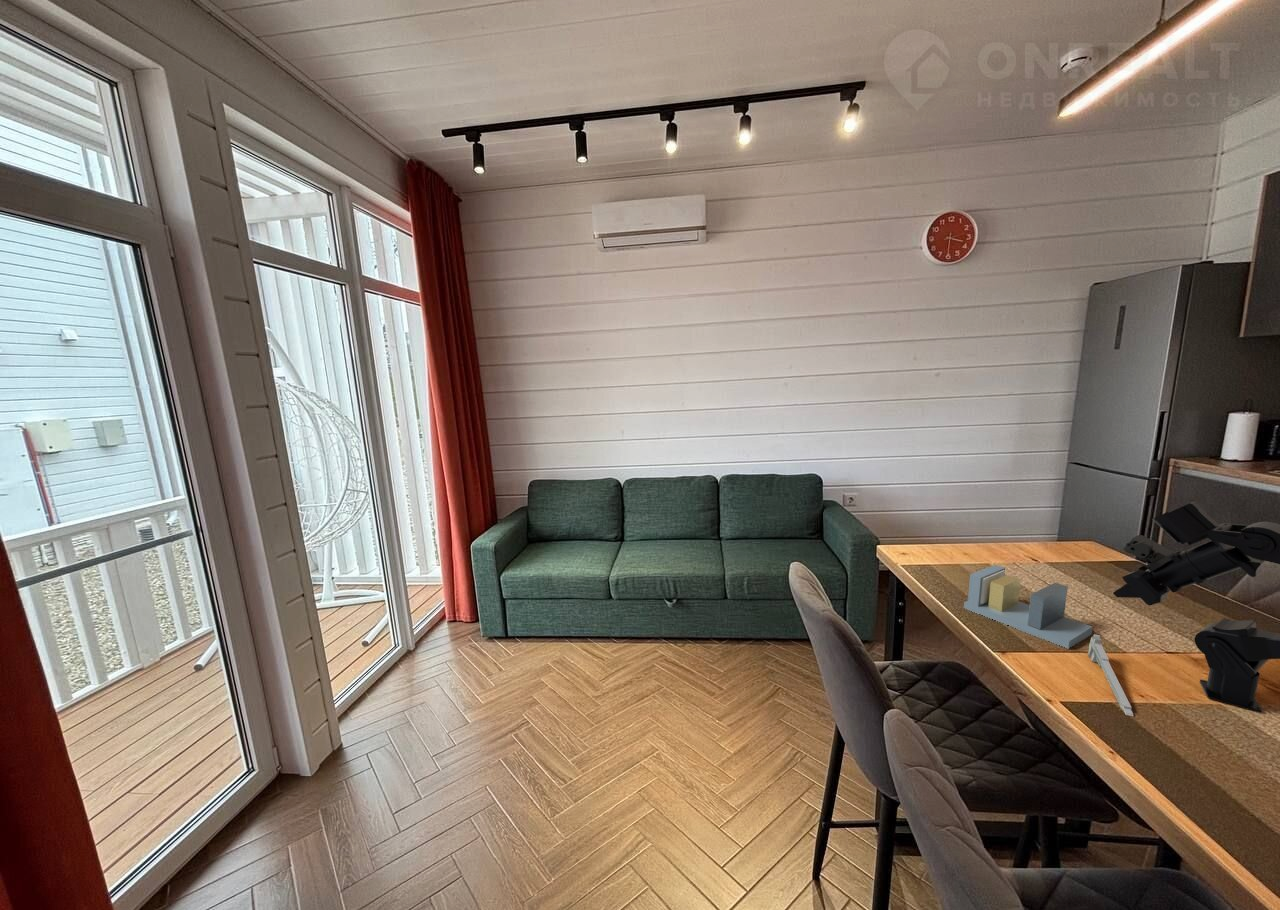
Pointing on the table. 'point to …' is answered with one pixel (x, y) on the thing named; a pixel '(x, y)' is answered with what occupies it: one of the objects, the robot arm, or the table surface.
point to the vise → (1020, 612)
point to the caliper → (1108, 672)
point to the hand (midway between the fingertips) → (1115, 594)
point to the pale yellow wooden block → (1004, 593)
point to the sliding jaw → (1047, 605)
